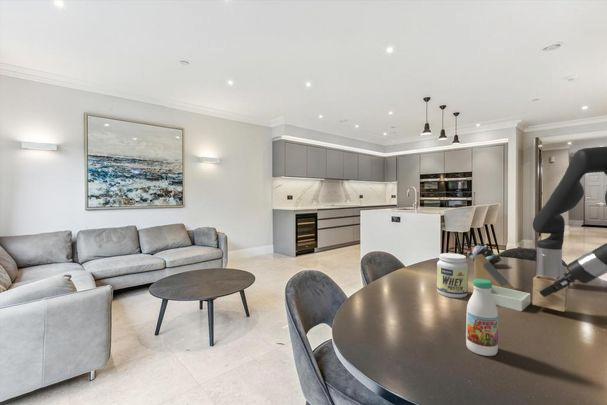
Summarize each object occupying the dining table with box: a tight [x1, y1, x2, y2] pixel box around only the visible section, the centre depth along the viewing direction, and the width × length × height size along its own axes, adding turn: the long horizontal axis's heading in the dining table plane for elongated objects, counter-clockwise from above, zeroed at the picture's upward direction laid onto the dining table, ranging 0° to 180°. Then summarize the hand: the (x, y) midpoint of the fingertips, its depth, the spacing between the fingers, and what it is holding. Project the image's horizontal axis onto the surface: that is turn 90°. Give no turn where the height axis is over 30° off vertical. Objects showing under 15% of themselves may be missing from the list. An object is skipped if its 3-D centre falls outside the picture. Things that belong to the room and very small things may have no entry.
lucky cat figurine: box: [467, 243, 502, 266], centre depth 176 cm, size 15×12×14 cm
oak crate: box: [531, 275, 569, 312], centre depth 109 cm, size 9×6×10 cm, turn 40°
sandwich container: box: [473, 254, 518, 291], centre depth 133 cm, size 9×15×15 cm, turn 40°
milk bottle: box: [465, 279, 499, 357], centre depth 84 cm, size 8×8×20 cm
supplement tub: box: [436, 252, 469, 299], centre depth 129 cm, size 12×12×17 cm
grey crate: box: [491, 285, 531, 312], centre depth 119 cm, size 15×12×4 cm
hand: (544, 292), depth 110 cm, fingers closed on oak crate, 6 cm apart
